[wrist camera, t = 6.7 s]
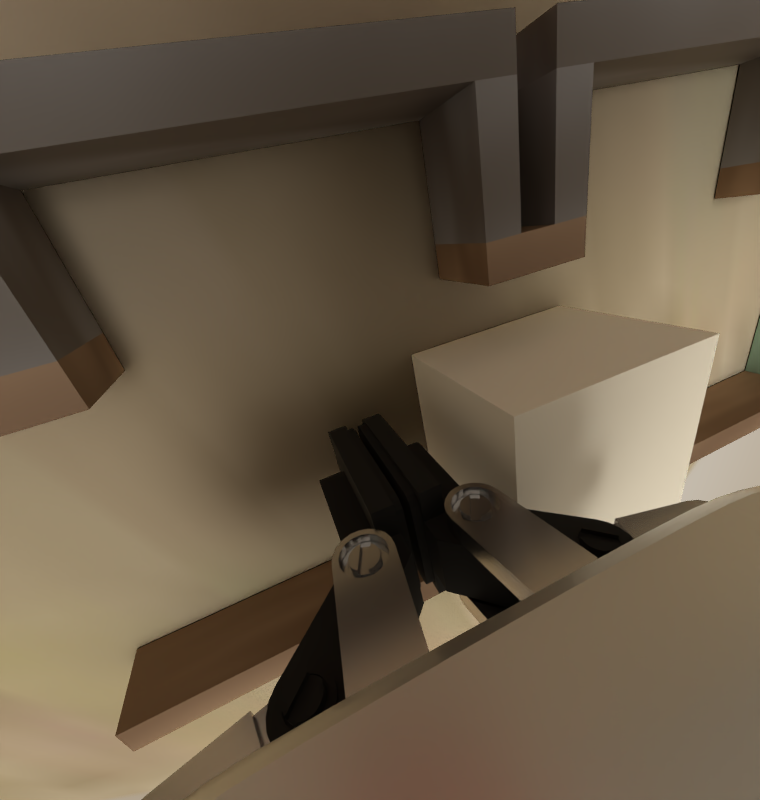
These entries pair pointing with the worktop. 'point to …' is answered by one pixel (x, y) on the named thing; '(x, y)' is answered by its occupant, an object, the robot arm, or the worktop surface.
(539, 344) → the block
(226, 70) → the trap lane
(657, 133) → the worktop surface
